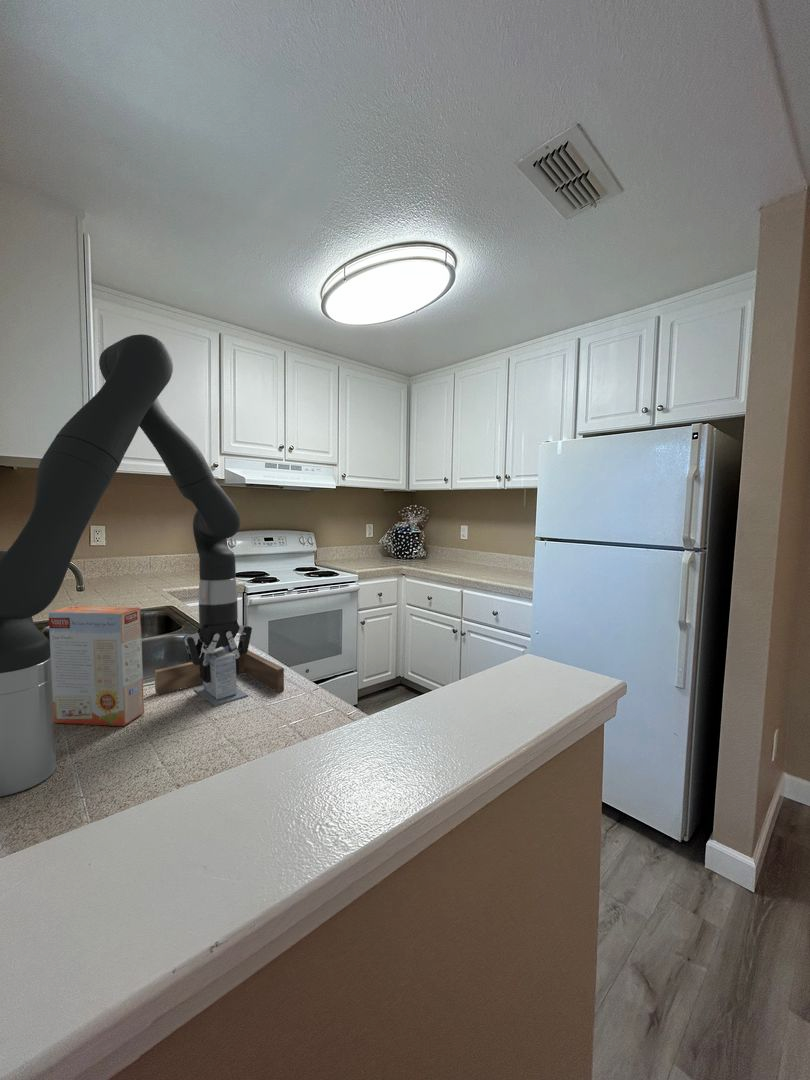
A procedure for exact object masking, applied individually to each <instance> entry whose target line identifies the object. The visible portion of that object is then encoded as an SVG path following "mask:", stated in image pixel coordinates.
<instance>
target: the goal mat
mask: <svg viewBox="0 0 810 1080" xmlns="http://www.w3.org/2000/svg"><path fill="white" fill-rule="evenodd" d="M193 690H195V691H194V692H196V693H197V694H198V695H200V696H201V697H202V699H203V698H204V700H206V701H207V702H208V703H210V704H211V706H214V707H217V706H220V705H223V704H226V703H230V702H234V701H237V700H240V699H243V697H244V698H246V697H249V694H247V693H246V692H244V691H243V690H242V689H240V688H238V687H237V694H236V695H232V696H228V697H225V698H222V699H218V700H217V699H216V698H215V697H213V696H212V695H211V694H210V693H209V692H207V691H206V690H205V689H204V688H203V686H199V687H196V688H193Z"/></svg>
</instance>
